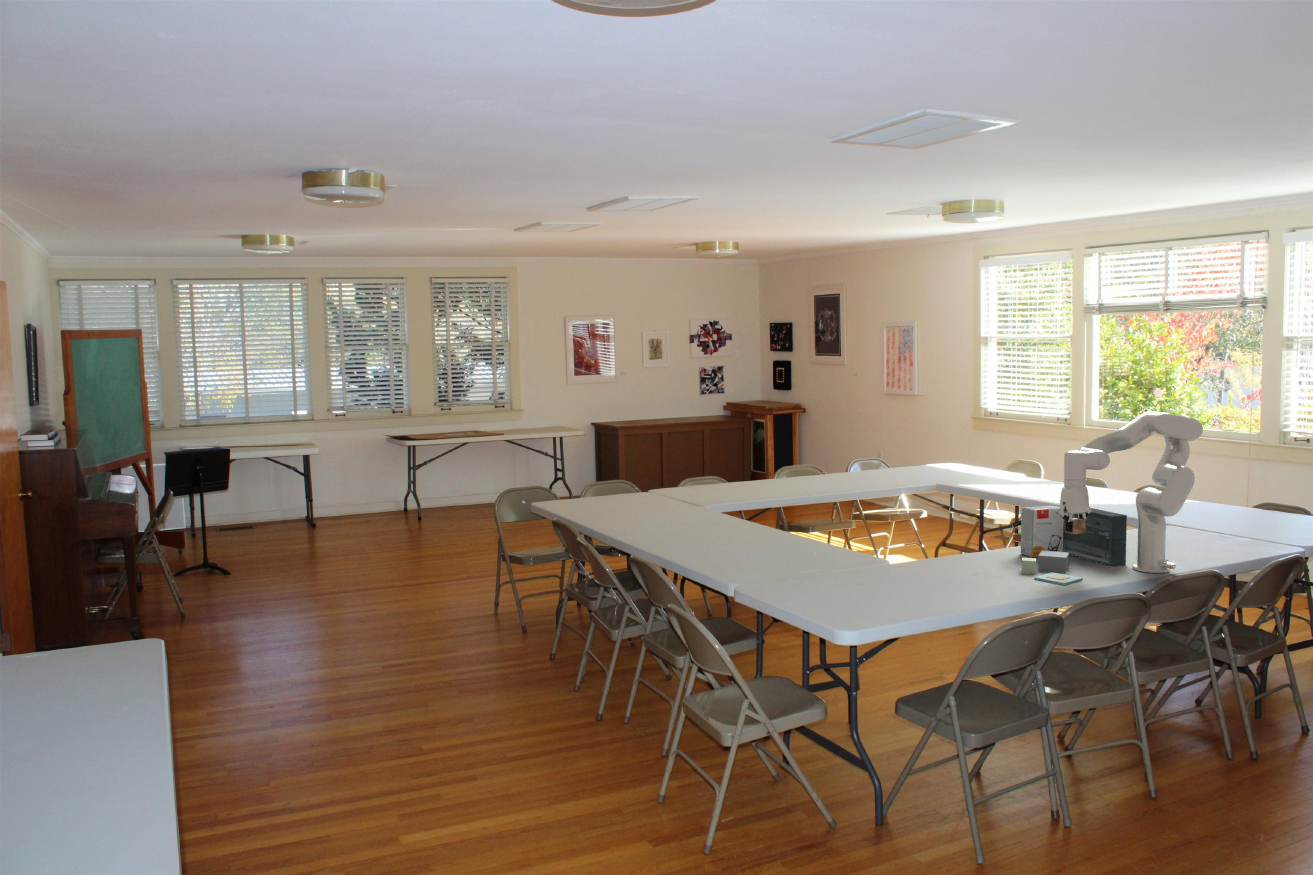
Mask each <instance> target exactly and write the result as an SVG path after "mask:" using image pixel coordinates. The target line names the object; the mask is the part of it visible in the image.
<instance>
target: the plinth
mask: <svg viewBox="0 0 1313 875" xmlns="http://www.w3.org/2000/svg"><path fill="white" fill-rule="evenodd" d="M1037 558H1038V563H1037V564H1038V571H1043V572H1054V573H1067V572H1068V570H1069V568H1070V555H1069V552H1056V551H1041V552H1040V554H1039V556H1038V557H1037Z"/></svg>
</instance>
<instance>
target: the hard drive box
mask: <svg viewBox="0 0 1313 875" xmlns="http://www.w3.org/2000/svg"><path fill="white" fill-rule="evenodd" d="M1059 511H1060V506H1056V505H1041V506H1040V505H1039V506H1022V507H1021V512H1020V514H1021V521H1020V522H1021V523H1020V524H1021V526H1020V527H1021V528H1020V554H1021V555H1024V556H1027V557H1029V558H1038V556H1039V554H1040V552H1041V551H1056V552H1063V526H1064V519H1063V518H1062V517H1061V516H1060V515H1059V514H1058V512H1059Z"/></svg>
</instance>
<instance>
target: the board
mask: <svg viewBox="0 0 1313 875" xmlns="http://www.w3.org/2000/svg"><path fill="white" fill-rule="evenodd" d="M1033 578H1034V580H1035V579H1036V580H1035V581H1040V580H1042V581H1041V582H1046V583H1052V584H1055V583H1056V585H1060V586H1067V585H1071V584H1074V583H1077V582H1080V581H1083V577H1080V576H1073V575H1070V574H1064V573H1060V572H1055V571H1050V572H1048V573H1045V574H1041V575H1037V576H1034V577H1033Z"/></svg>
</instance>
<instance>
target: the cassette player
mask: <svg viewBox="0 0 1313 875" xmlns="http://www.w3.org/2000/svg"><path fill="white" fill-rule="evenodd" d="M1090 508H1091V510H1092V511H1091V512H1090V513H1089V515H1088V516H1087V518H1086V520H1085V533H1081V534H1071V533H1067V532H1065V521H1064V526H1063V552H1069V556H1071V555H1073V557H1075V556H1076V558H1078V557H1080V558H1079V559H1082V560H1086V561H1089V560H1091V561H1090V562H1094V563H1096V562H1097V564H1100V563H1101V564H1100V565H1104V566H1108V567H1111V566H1113V567H1119V566H1120V567H1122V566H1126V563H1127V525H1128V524H1127V520H1128V518H1127V517H1128V515H1127V514H1123V513H1118V512H1114V511H1107V510H1102V509H1098V508H1094V507H1090ZM1064 514H1065V513H1064ZM1081 515H1082V514H1081ZM1068 517H1069V515H1068ZM1072 518H1078V514H1073V516H1072ZM1078 519H1079V518H1078Z"/></svg>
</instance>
